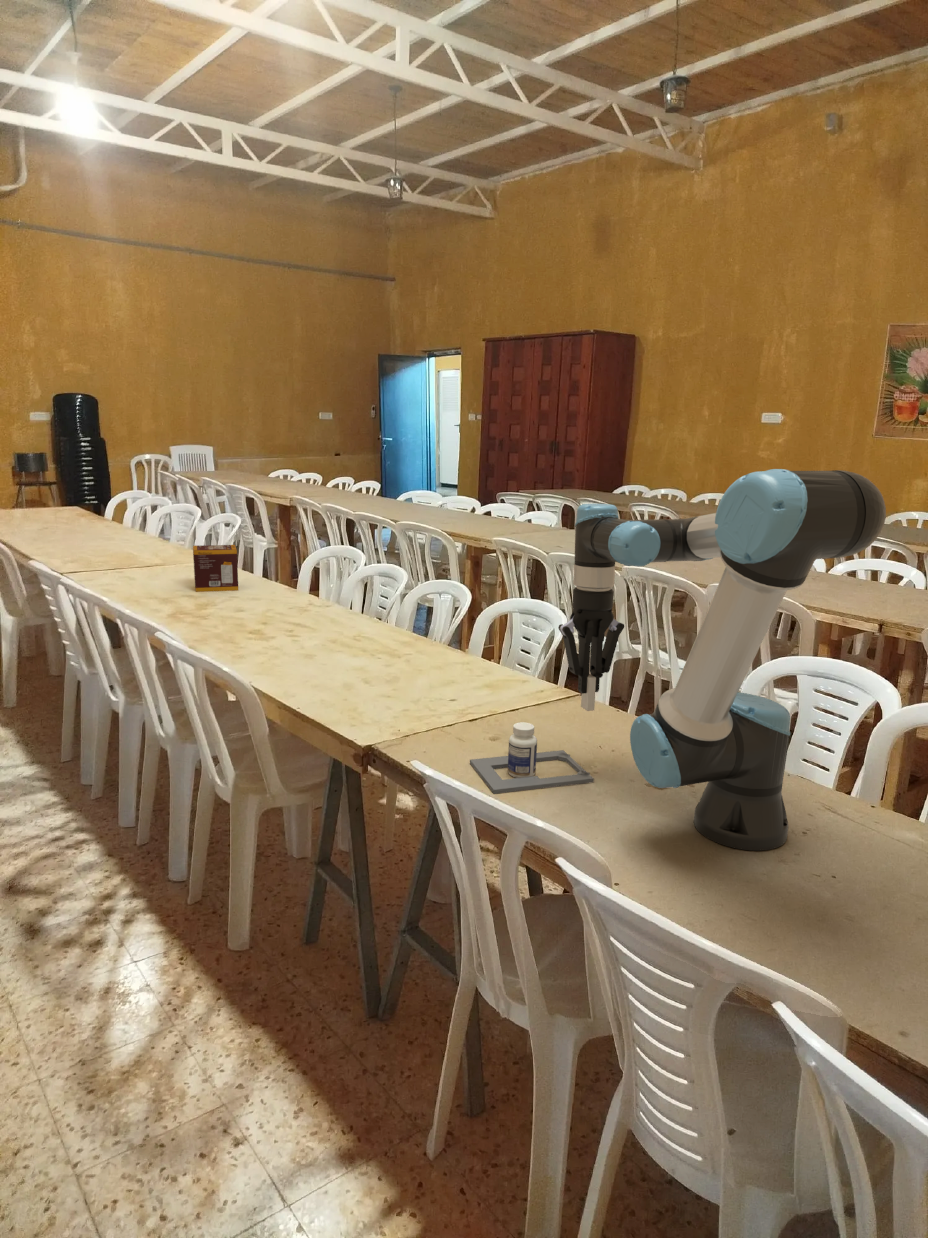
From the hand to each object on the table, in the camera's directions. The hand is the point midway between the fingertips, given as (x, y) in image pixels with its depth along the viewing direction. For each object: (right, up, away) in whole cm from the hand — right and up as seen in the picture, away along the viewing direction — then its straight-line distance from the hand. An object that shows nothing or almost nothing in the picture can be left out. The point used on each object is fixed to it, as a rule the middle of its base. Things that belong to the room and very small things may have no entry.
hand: (587, 708), depth 163 cm
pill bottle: (-13, -13, 0) cm, 18 cm away
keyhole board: (-11, -12, +1) cm, 17 cm away
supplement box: (-116, +28, +153) cm, 194 cm away
